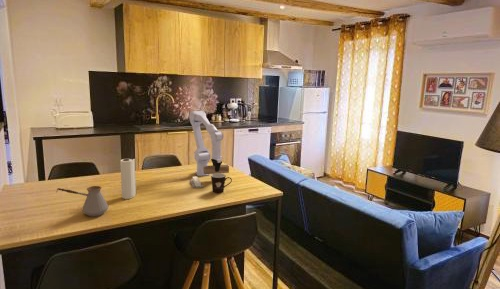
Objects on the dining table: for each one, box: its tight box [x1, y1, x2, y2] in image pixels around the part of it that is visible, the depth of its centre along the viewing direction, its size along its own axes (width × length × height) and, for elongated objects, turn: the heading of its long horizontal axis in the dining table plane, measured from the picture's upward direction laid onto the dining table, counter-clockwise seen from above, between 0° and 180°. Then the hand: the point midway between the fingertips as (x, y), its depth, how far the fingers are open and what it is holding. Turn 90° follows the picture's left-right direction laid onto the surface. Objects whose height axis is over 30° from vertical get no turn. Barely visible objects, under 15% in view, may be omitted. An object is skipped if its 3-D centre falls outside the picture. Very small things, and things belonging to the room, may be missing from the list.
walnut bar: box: [204, 164, 230, 175], centre depth 214 cm, size 4×16×4 cm, turn 110°
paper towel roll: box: [119, 158, 137, 200], centre depth 178 cm, size 7×6×21 cm
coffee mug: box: [210, 173, 233, 194], centre depth 193 cm, size 12×9×10 cm
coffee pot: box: [55, 185, 109, 217], centre depth 155 cm, size 21×12×15 cm, turn 120°
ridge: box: [189, 175, 205, 189], centre depth 206 cm, size 14×6×3 cm, turn 20°
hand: (216, 170), depth 214 cm, fingers closed on walnut bar, 4 cm apart
